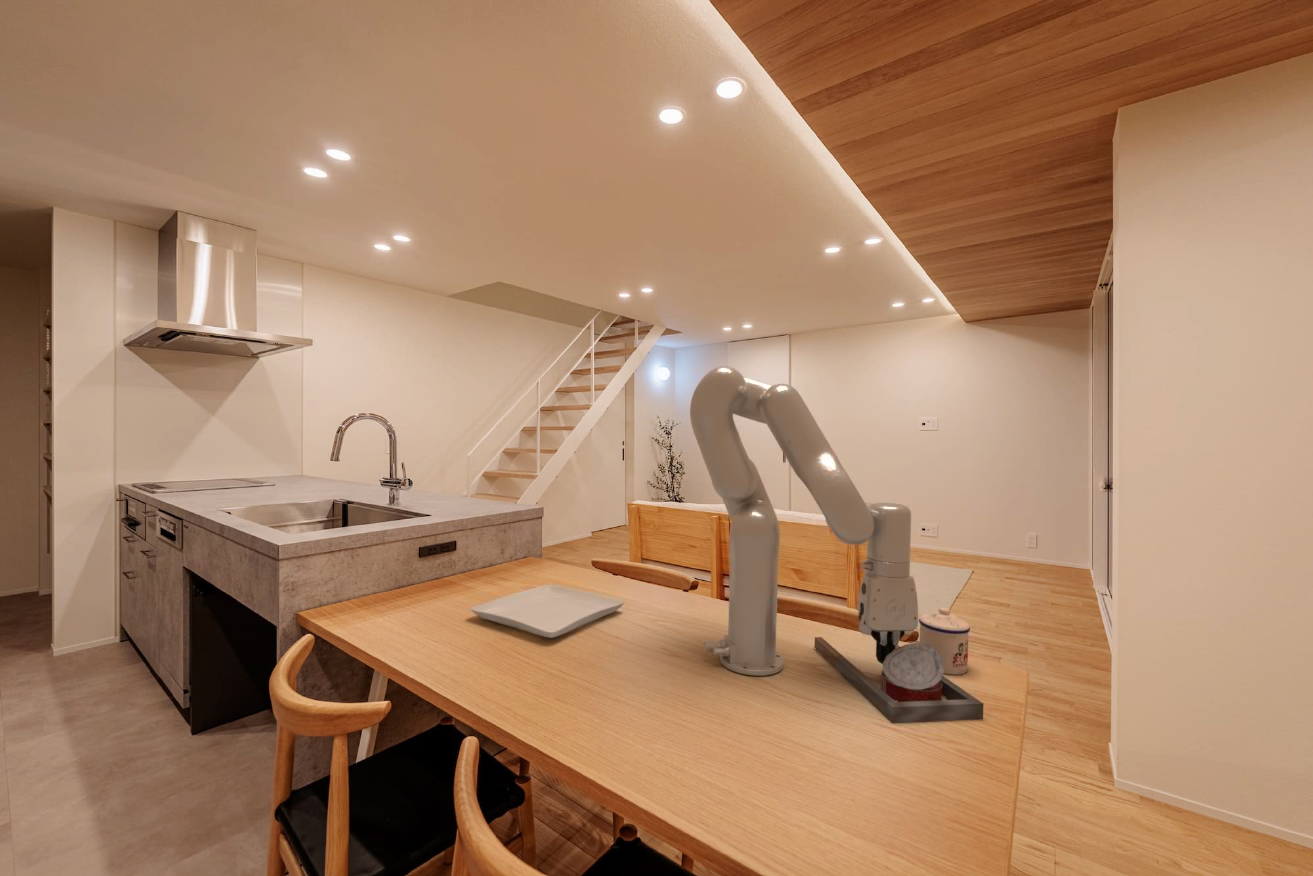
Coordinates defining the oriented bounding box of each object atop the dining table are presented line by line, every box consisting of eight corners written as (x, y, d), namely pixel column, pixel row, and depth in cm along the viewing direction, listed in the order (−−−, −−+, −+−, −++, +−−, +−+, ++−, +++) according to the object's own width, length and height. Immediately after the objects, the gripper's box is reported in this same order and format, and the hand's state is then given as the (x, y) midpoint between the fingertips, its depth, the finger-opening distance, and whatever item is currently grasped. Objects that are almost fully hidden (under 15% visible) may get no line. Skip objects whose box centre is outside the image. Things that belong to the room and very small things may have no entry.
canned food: (942, 729, 92) (965, 691, 87) (885, 721, 92) (904, 683, 87) (918, 673, 102) (937, 637, 97) (867, 666, 102) (883, 629, 97)
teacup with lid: (962, 680, 100) (964, 619, 100) (912, 665, 107) (913, 608, 107) (976, 661, 109) (978, 605, 109) (928, 649, 116) (930, 596, 115)
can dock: (892, 722, 85) (892, 707, 85) (814, 648, 114) (814, 637, 114) (983, 718, 87) (983, 703, 87) (883, 647, 116) (884, 635, 116)
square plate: (627, 614, 134) (627, 599, 134) (551, 649, 111) (551, 631, 111) (548, 595, 148) (548, 581, 148) (467, 622, 125) (467, 606, 125)
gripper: (861, 573, 96) (858, 673, 96) (936, 573, 98) (933, 671, 98) (841, 563, 104) (839, 656, 104) (912, 563, 106) (909, 654, 106)
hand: (885, 663), depth 101 cm, fingers closed
